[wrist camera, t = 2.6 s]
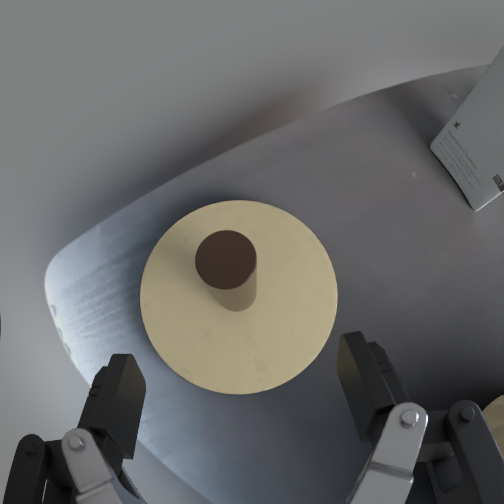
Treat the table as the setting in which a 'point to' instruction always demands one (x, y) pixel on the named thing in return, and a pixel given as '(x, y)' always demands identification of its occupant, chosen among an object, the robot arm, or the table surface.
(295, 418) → the table surface
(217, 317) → the lid
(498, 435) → the pot
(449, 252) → the table surface
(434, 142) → the cosmetic box
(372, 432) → the robot arm
